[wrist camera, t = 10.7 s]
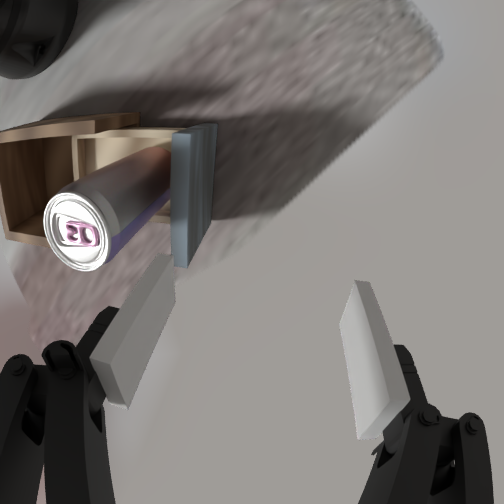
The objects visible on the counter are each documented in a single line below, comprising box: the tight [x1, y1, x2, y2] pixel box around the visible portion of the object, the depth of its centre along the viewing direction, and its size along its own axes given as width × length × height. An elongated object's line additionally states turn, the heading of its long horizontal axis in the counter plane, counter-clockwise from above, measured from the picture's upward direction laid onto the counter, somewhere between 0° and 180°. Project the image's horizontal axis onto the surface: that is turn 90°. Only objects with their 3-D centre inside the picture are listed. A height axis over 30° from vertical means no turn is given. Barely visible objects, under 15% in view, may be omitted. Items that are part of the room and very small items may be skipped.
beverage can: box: [44, 147, 171, 272], centre depth 23 cm, size 6×6×15 cm
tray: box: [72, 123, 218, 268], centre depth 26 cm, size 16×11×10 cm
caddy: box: [0, 112, 140, 248], centre depth 27 cm, size 16×13×9 cm
